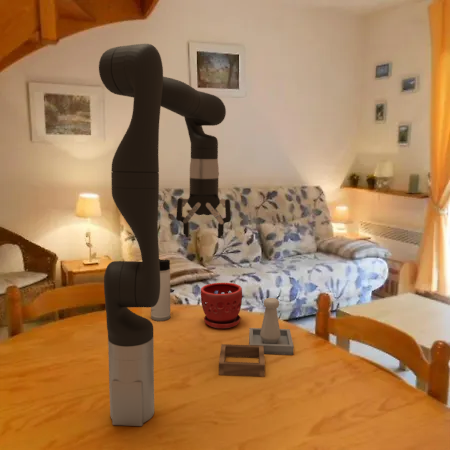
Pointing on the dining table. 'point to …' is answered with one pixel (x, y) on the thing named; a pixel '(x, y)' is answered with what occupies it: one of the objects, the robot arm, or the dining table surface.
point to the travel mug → (163, 294)
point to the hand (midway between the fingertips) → (203, 237)
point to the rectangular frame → (242, 367)
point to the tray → (280, 348)
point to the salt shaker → (270, 322)
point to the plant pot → (221, 304)
